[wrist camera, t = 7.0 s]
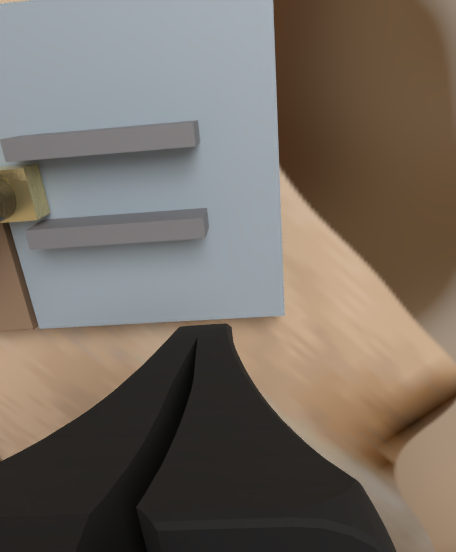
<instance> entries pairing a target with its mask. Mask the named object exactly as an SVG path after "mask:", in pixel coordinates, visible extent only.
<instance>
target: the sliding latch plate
mask: <svg viewBox="0 0 456 552" xmlns="http://www.w3.org/2000/svg"><path fill="white" fill-rule="evenodd" d="M273 17H274V16H273V0H31V1H22V2H13V3H4V4H0V167H3V166H16V165H28V164H38V165H39V169H40V173H41V177H42V181H43V185H44V189H45V193H46V197H47V201H48V205H49V209H50V213H49V214H47V215H45V216H44V217H42V218H40V219H39V220H34V221H21V222H7V223H0V331H9V330H28V329H34V328H35V327H36V326H37V325H39V329H46V328H65V327H84V326H102V325H121V324H140V323H158V322H177V321H195V320H214V319H233V318H251V317H270V316H285V313H284V286H283V259H282V232H281V205H280V178H279V151H278V124H277V97H276V73H275V44H274V18H273Z"/></svg>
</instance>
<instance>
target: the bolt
mask: <svg viewBox="0 0 456 552" xmlns="http://www.w3.org/2000/svg"><path fill="white" fill-rule="evenodd" d="M49 213H50V209H49V205H48V201H47V197H46V193H45V189H44V185H43V181H42V177H41V173H40V169H39V165H38V164H28V165H16V166H3V167H0V223H7V222H21V221H34V220H39V219H40V218H42V217H44V216H45V215H47V214H49Z"/></svg>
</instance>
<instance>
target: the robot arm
mask: <svg viewBox="0 0 456 552" xmlns="http://www.w3.org/2000/svg"><path fill="white" fill-rule="evenodd" d="M0 552H396V549H395V547H394V545H393V543H392V540H391V538H390V536H389V534H388V532H387V530H386V528H385V526H384V524H383V522H382V520H381V518H380V516H379V514H378V512H377V511H376V509H375V507H374V505H373V504H372V502H371V500H370V498H369V497H368V495H367V493H366V492H365V490H364V488H363V487H362V485H361V484H360V483H359V482H358V481H357V480H356V479H354V478H353V477H351V476H350V475H348V474H347V473H345V472H344V471H342V470H341V469H339V468H338V467H336V466H335V465H333V464H332V463H330V462H329V461H328V460H326V459H325V458H323V457H322V456H321V455H320V454H318V453H317V452H316V451H315V450H314V449H312V448H311V447H310V446H309V445H308V444H306V443H305V442H304V441H303V440H302V439H301V438H300V437H299V436H298V435H297V434H296V433H295V432H294V431H293V430H292V429H291V428H290V427H289V426H288V425H287V424H286V423H285V422H284V421H283V420H282V419H281V418H280V417H279V416H278V415H277V413H276V412H275V411H274V410H273V409H272V408H271V406H270V405H269V404H268V403H267V401H266V400H265V399H264V397H263V396H262V395H261V393H260V392H259V391H258V389H257V388H256V386H255V385H254V383H253V381H252V380H251V378H250V377H249V375H248V373H247V371H246V370H245V368H244V366H243V364H242V362H241V360H240V358H239V356H238V354H237V351H236V349H235V346H234V343H233V337H232V328H231V327H230V326H229V325H228V324H212V325H197V326H182V327H179V328H178V329H177V330H176V331H175V332H174V333H173V334H172V335H171V337H170V338H169V339H168V340H167V341H166V342H165V343H164V344H163V345H162V346H161V347H160V348H159V349H158V350H157V351H156V352H155V353H154V354H153V355H152V356H151V357H150V358H149V359H148V360H147V361H146V362H145V363H144V364H143V365H142V366H141V367H140V368H139V369H138V370H137V371H136V372H135V373H134V374H132V375H131V376H130V377H129V378H128V379H127V380H126V381H125V382H124V383H122V384H121V385H120V386H119V387H118V388H117V389H116V390H114V391H113V392H112V393H111V394H109V395H108V396H107V397H106V398H104V399H103V400H102V401H100V402H99V403H98V404H96V405H95V406H94V407H92V408H91V409H89V410H88V411H87V412H85V413H84V414H82V415H81V416H80V417H78V418H76V419H75V420H73V421H72V422H70V423H68V424H67V425H65V426H64V427H62V428H60V429H59V430H57V431H56V432H54V433H52V434H51V435H49V436H48V437H46V438H44V439H43V440H41V441H39V442H37V443H35V444H34V445H32V446H30V447H28V448H26V449H24V450H23V451H21V452H19V453H17V454H15V455H13V456H11V457H9V458H7V459H5V460H3V461H1V462H0Z"/></svg>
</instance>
